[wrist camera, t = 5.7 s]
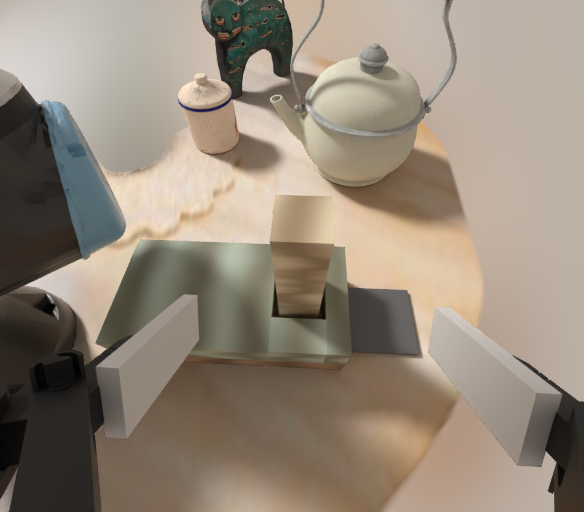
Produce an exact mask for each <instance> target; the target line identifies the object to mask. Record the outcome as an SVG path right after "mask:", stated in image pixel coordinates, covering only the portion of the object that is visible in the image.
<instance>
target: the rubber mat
mask: <svg viewBox="0 0 584 512" xmlns="http://www.w3.org/2000/svg"><path fill="white" fill-rule="evenodd" d="M348 303H349V318H350V333H351V347H352V352H365V353H386V354H407V355H419V349H418V343H417V338H416V333H415V328H414V323H413V318H412V313H411V307H410V302H409V297H408V292H407V290H388V289H364V288H348Z"/></svg>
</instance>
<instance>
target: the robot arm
mask: <svg viewBox="0 0 584 512" xmlns="http://www.w3.org/2000/svg"><path fill="white" fill-rule="evenodd" d="M125 228H126V223H125V218H124V216H123V213H122V211H121V209H120V206H119V204H118V202H117V200H116V198H115V196H114V194H113V192H112V190H111V188H110V186H109V184H108V182H107V180H106V178H105V176H104V174H103V172H102V170H101V168H100V166H99V164H98V162H97V160H96V158H95V156H94V155H93V153H92V151H91V149H90V147H89V145H88V143H87V141H86V140H85V138H84V136H83V134H82V132H81V131H80V129H79V127H78V125H77V124H76V122H75V121H74V119H73V118H72V116H71V114H70V112H69V110H68V109H67V107H66V106H65V105H63V104H62V103H60V102H50V101H47V100H45V101H42V102H41V104H38V103H37V102H36V101H35V100H34V99H33V97H32V96H31V95H30V94H29V92H28V91H27V90H26V88H25V87H24V86H23V85H22V83H21V82H20V81H19V80H18V78H17V77H16V76H14V75H13V74H11V73H9V72H6V71H4V70H2V69H0V499H1V497H2V495H3V494H4V492H5V490H6V488H7V486H8V484H9V482H10V481H11V479H12V477H13V475H14V473H15V471H16V469H17V468H18V470H17V475H16V480H15V485H14V490H13V495H12V500H11V505H10V510H9V512H102V511H101V499H100V487H99V475H98V463H97V451H96V440H95V432H96V431H97V430H98V429H99V427H100V426H101V425H102V424H104V432H105V437H106V438H121V439H127V438H128V437H129V435H130V434H131V433H132V431H133V430H134V429H135V427H136V426H137V424H138V423H139V422H140V420H141V419H142V418H143V416H144V415H145V413H146V412H147V411H148V409H149V408H150V407H151V405H152V404H153V402H154V401H155V400H156V398H157V397H158V396H159V394H160V393H161V391H162V390H163V389H164V387H165V386H166V385H167V383H168V382H169V380H170V379H171V378H172V376H173V375H174V374H175V372H176V371H177V369H178V368H179V367H180V365H181V364H182V363H183V361H184V360H185V358H186V357H187V356H188V354H189V353H190V352H191V350H192V349H193V347H194V346H195V345H196V343H197V342H198V341H199V325H198V302H197V295H187V294H184V295H182V296H181V297H180V298H179V299H177V300H176V301H175V302H174V303H173V304H171V305H170V306H169V307H168V308H167V309H165V310H164V311H163V312H162V313H160V314H159V315H158V316H157V317H156V318H154V319H153V320H152V321H151V322H150V323H148V324H147V325H146V326H145V327H143V328H142V329H141V330H140V331H139V332H137V333H136V334H135V335H129V336H127V337H125V338H123V339H120V340H118V341H117V342H115V343H114V344H113V345H112V346H110V347H109V349H106V350H105V351H104V352H103V353H101V355H99V356H97V357H96V358H95V359H94V360H92V361H91V362H90V363H88V364H87V365H86V366H84V359H83V354H82V353H81V352H79V351H76V350H71V349H72V346H73V342H74V338H75V330H76V326H75V318H74V315H73V312H72V310H71V308H70V307H69V306H68V304H67V303H66V302H64V301H63V300H62V299H60V298H58V297H56V296H55V295H53V294H51V293H49V292H47V291H45V290H42V289H39V288H35V287H29V286H24V285H26V284H28V283H30V282H33V281H35V280H37V279H39V278H41V277H43V276H45V275H47V274H49V273H52V272H54V271H56V270H58V269H60V268H62V267H64V266H66V265H68V264H71V263H73V262H75V261H77V260H79V259H81V258H83V259H84V260H86V259H88V258H89V257H90V255H91V254H92V253H94V252H96V251H98V250H100V249H102V248H104V247H106V246H108V245H110V244H111V243H113V242H115V241H117V240H118V239H119V238H121V236H122V235H123V234H124V232H125ZM428 353H429V354H430V356H431V357H432V358H433V360H434V361H435V362H436V363H437V365H438V366H439V367H440V368H441V370H442V371H443V372H444V373H445V375H446V376H447V377H448V378H449V380H450V381H451V382H452V384H453V385H454V386H455V387H456V389H457V390H458V391H459V392H460V394H461V395H462V396H463V397H464V399H465V400H466V401H467V402H468V404H469V405H470V406H471V408H472V409H473V410H474V411H475V413H476V414H477V415H478V416H479V418H480V419H481V420H482V421H483V423H484V424H485V425H486V426H487V428H488V429H489V430H490V432H491V433H492V434H493V435H494V437H495V438H496V439H497V440H498V441H499V443H500V444H501V445H502V447H503V448H504V449H505V450H506V452H507V453H508V454H509V455H510V457H511V458H512V459H513V461H514V462H515V463H516V464H517V465H520V466H534V467H541V466H542V463H543V459H544V456H545V452H548V454H549V455H550V456H551V457H552V458H553V459H554V460H555V461H556V462H557V463H556V466H555V470H554V473H553V476H552V479H551V482H550V486H549V489H548V492H550V493H552V494H553V492H554V506H555V507H554V509H555V512H584V402H582V401H581V402H579V401H578V400H576V399H575V398H574V397H572V396H571V395H570V394H568V393H567V392H566V391H564V390H563V389H562V388H560V387H559V386H558V385H556V384H555V383H554V382H552V381H551V380H548V378H547V377H546V376H544V375H543V374H542V373H539V372H538V371H537V370H536V369H535V368H534V367H532V366H531V365H530V364H528V363H527V362H525V361H523V360H521V359H519V358H517V357H515V356H513V355H511V354H509V353H508V352H507V351H505V350H504V349H503V348H501V347H500V346H499V345H498V344H496V343H495V342H494V341H492V340H491V339H490V338H488V337H487V336H486V335H485V334H483V333H482V332H481V331H479V330H478V329H477V328H475V327H474V326H473V325H472V324H470V323H469V322H468V321H466V320H465V319H464V318H462V317H461V316H460V315H459V314H457V313H456V312H455V311H453V310H452V309H451V308H449V307H435V310H434V316H433V322H432V328H431V335H430V341H429V347H428Z"/></svg>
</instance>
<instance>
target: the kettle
mask: <svg viewBox="0 0 584 512" xmlns="http://www.w3.org/2000/svg"><path fill="white" fill-rule="evenodd" d="M452 1H453V0H446V1H445V4H444V9H443V20H444V24H445V28H446V31H447V34H448V37H449V41H450V46H451V54H452V55H451V62H450V65H449V68H448V70H447V72H446V74H445V76H444V77H443V79H442V80H441V81H440V83H439V84H438V85H437V87H436V88H435V89H434V91H433V92H432V93H431V94H430V95H429V97H428V98H427V99H426V100H425V102H423V100H422V98H421V96H420V90H419V87H418V84H417V82H416V81H415V79H414V78H413V76H412V75H411V74H410V73H409V72H408V71H406V70H405V69H404V68H402V67H401V66H399V65H397V64H395V63H393V62H390V61H388V56H387V54H386V51H385V50H384V49H383V48H382V47H381V46H379V44H377V43H374V44H373V45H371V46H368V47H366V48H365V49H364V50H363V51H362V52H361V53H360V54H359V55H358V58H351V59H347V60H344V61H340V62H338V63H336V64H334V65H332V66H330V67H329V68H327V69H326V70H325V71H324V72H323V73H322V74H321V75H320V76H319V77H318V79H317V80H316V82H315V83H314V84H313V85H312V86H311V87H310V88H309V90H308V92H307V94H306V97H305V105H303V104H302V97H301V95H300V92H299V89H298V87H297V84H296V81H295V77H294V71H293V63H294V59H295V57H296V55H297V53H298V51H299V49H300V48H301V46H302V45H303V43H304V42H305V40H306V39H307V38H308V36H309V35H310V33H311V32H312V31H313V30H314V28H315V27H316V25H317V24H318V22H319V20H320V18H321V16H322V13H323V8H324V0H321V6H320V10H319V13H318V15H317V17H316V18H315V20H314V21H313V23H312V24H311V25H310V27H309V28H308V29H307V31H306V32H305V34H304V35H303V37H302V38H301V40H300V41H299V43H298V45H297V46H296V48H295V50H294V52H293V55H292V59H291V79H292V83H293V87H294V90H295V92H296V95H297V98H298V100H299V103H300V104H299V105H295V107H294V109H295V110H296V111H298V110H299V111H300V114H298V113H297V112H295V111H294V110H293V109H292V108H291V107H290V106H289V105H288V104H287V103H286V101H285V100H284V98H283V97H282V96H281V95H274V96H272V97H271V98H270V101H271V103H272V104H273V106H274V108H275V109H276V111H277V112H278V114H279V116H280V117H281V119H282V120H283V122H284V123H285V125H286V126H287V128H288V129H289V130H290V132H291V133H292V134H293V135H294V136H296V137H297V138H298V139H299V140H300V141H301V142H302V144H303V146H304V148H305V150H306V152H307V154H308V156H309V157H310V159H311V160H312V161H313V163H314V166H315V168H316V169H317V171H318V172H319V173H320V174H321V175H322V176H323V177H325V178H326V179H328V180H330V181H332V182H334V183H336V184H340V185H344V186H350V187H361V186H367V185H371V184H374V183H376V182H378V181H380V180H382V179H383V178H384V177H385V176H386V175H387V174H388V173H390V172H392V171H394V170H395V169H396V168H398V167H399V166H400V165H401V164H402V163H403V162H404V161H405V160H406V159H407V157H408V156H409V154H410V152H411V150H412V148H413V146H414V142H415V139H416V133H417V125H418V124H419V122H420V121H421V120H422V119H423V118H424V116H425V113H429V112H430V111H431V107H429V105H430V104H431V103H432V102H433V100H434V99H435V98H436V97H437V96H438V95H439V93H440V92H441V91H442V90H443V88H444V87H445V85H446V84H447V82H448V81H449V79H450V78H451V76H452V74H453V72H454V69H455V66H456V61H457V56H456V48H455V43H454V40H453V36H452V32H451V29H450V25H449V20H448V16H449V10H450V7H451V4H452ZM302 111H305V113H304V114H302Z"/></svg>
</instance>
